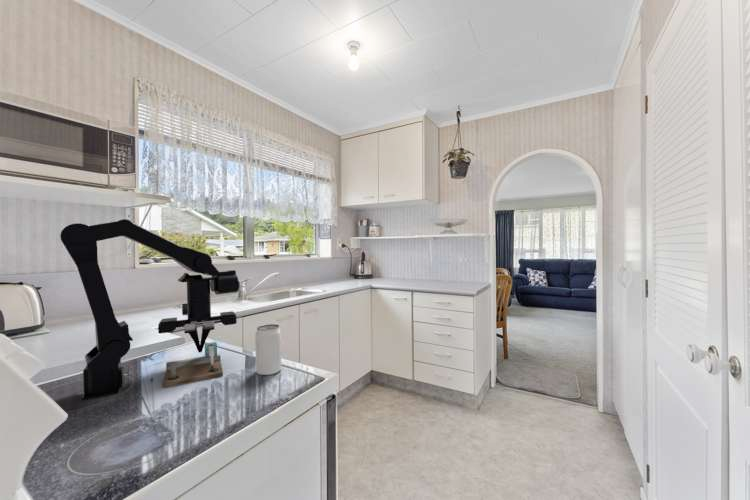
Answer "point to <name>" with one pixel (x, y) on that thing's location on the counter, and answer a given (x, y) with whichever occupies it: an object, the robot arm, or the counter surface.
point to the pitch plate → (191, 370)
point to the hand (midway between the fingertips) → (200, 351)
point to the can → (268, 349)
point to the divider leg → (211, 352)
